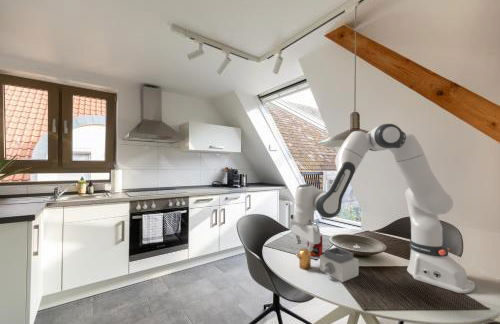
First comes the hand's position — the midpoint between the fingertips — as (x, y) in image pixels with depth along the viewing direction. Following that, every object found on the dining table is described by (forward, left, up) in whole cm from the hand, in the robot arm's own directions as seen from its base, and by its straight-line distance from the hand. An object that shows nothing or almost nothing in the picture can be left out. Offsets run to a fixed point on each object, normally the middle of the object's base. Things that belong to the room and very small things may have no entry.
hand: (304, 247), depth 110 cm
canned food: (+9, -16, -10) cm, 21 cm away
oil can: (0, +1, -10) cm, 10 cm away
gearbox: (-12, -7, -10) cm, 17 cm away
